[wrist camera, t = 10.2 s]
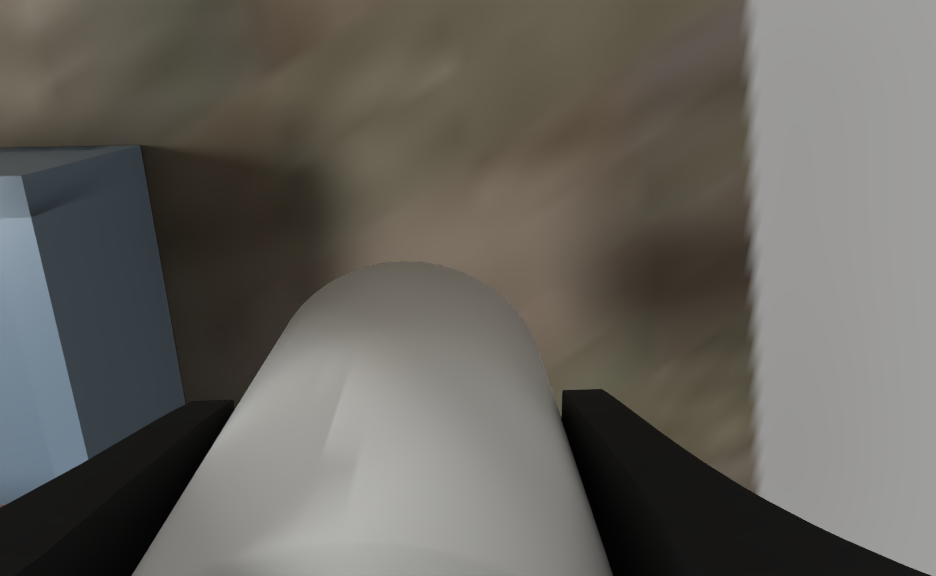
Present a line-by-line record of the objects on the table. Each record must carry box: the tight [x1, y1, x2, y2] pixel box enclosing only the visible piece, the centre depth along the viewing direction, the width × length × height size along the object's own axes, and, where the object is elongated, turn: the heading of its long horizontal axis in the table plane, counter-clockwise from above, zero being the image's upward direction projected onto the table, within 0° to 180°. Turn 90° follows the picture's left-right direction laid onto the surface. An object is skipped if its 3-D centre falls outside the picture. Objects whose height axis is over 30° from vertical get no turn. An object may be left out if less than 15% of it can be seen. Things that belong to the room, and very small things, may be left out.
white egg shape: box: [132, 261, 613, 576], centre depth 9 cm, size 5×5×7 cm
